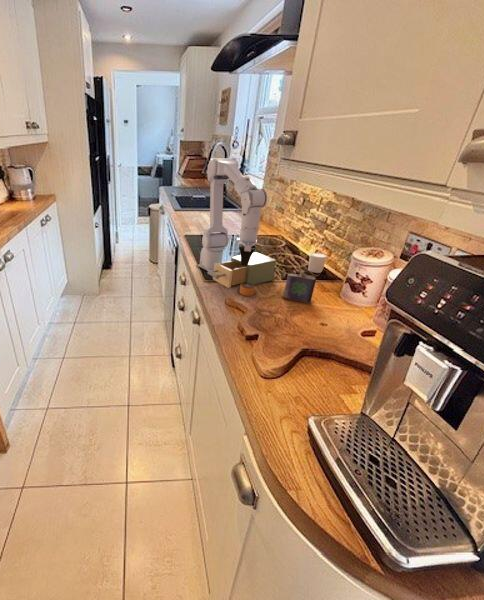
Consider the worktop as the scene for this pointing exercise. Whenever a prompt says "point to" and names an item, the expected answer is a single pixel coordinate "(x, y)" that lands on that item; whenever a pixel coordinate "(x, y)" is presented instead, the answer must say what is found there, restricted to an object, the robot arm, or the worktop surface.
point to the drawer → (229, 273)
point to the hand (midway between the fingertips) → (244, 264)
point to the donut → (247, 289)
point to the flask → (299, 287)
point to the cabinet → (258, 268)
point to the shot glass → (317, 262)
